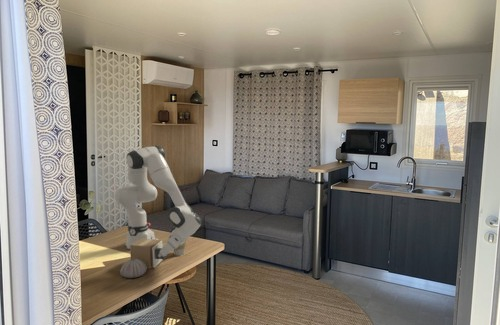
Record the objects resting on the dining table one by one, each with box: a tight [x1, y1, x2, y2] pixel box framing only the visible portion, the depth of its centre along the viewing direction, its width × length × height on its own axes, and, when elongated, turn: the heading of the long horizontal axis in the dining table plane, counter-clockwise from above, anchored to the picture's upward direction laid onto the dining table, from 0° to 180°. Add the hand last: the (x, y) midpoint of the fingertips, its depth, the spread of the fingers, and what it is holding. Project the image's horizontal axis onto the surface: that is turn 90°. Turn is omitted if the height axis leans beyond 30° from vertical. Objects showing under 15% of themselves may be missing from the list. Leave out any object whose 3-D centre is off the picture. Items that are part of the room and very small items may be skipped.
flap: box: [152, 240, 167, 269], centre depth 208 cm, size 12×6×11 cm, turn 171°
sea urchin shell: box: [119, 258, 148, 279], centre depth 196 cm, size 13×14×8 cm
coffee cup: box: [170, 227, 187, 256], centre depth 226 cm, size 10×10×15 cm
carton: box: [129, 238, 162, 269], centre depth 211 cm, size 12×12×12 cm
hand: (160, 254), depth 205 cm, fingers open, 3 cm apart
